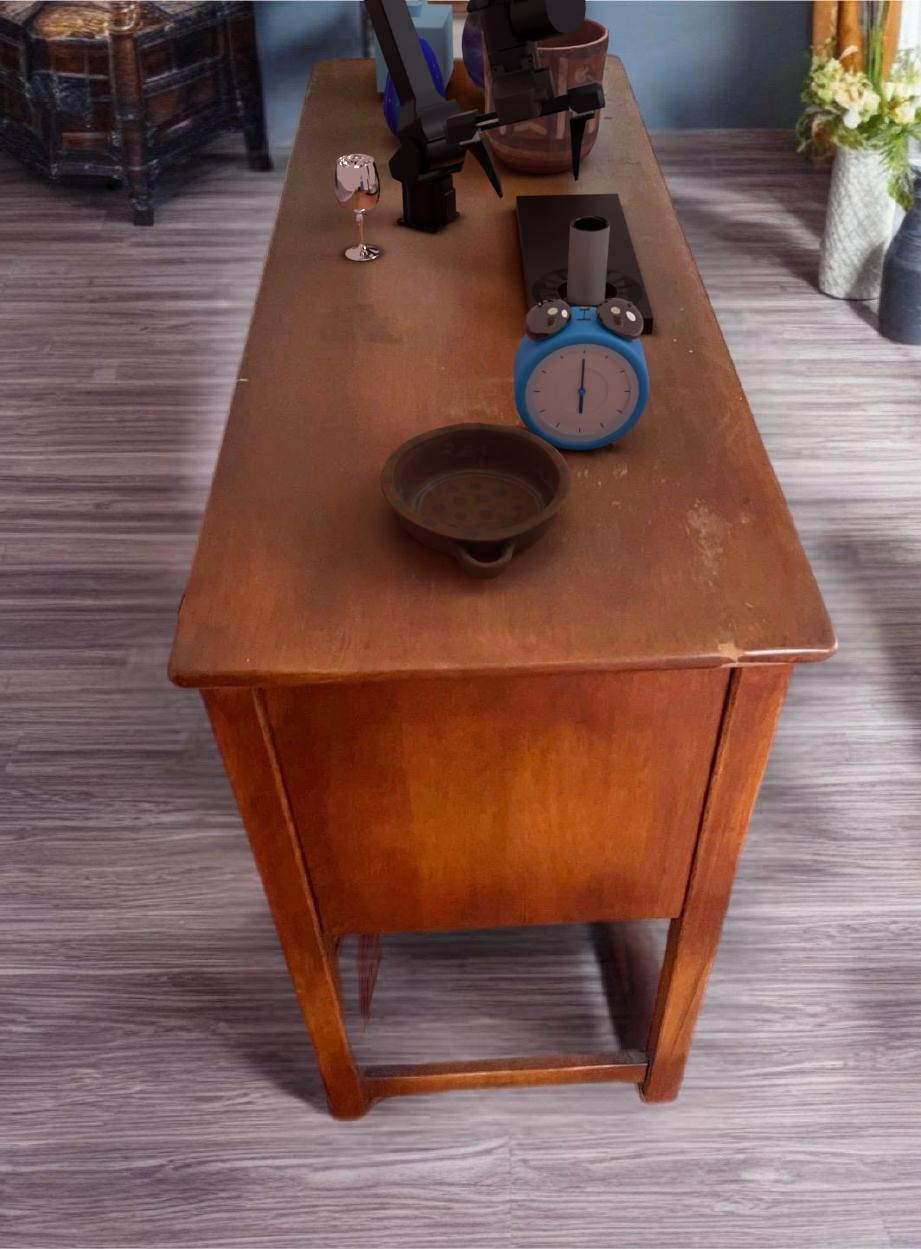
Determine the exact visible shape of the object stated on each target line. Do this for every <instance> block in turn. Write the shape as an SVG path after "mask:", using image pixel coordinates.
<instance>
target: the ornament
mask: <svg viewBox="0 0 921 1249" xmlns="http://www.w3.org/2000/svg"><path fill="white" fill-rule="evenodd" d="M418 38H419V41H420V44H421V47H422V50H423V52H424V55H425V58H426V61H427V64H428V67H429V70H430V73H431V76H432V79H433V82H434V84H435V87H436V90H437V92H438V93H439V94H440V95H441V96H442V97H443V98H444V99H446V100H447V96H446V89H445V86H444V81H443V77H442V73H441V70H440V67H439V64H438V61H437V59H436V56H435V54H434V52H433V50H432V48H431V47H430V45H429V44H428V42H427V41H426V40H425V39H423V38H422V37H420V36H418ZM382 110H383V116H384V119H385V122H386V125H387V127H388V129H389V131H390V132H391V134H392V135H393V136H394V137H395V138H397V139H399V137H398V133H397V130H398V123H399V117H400V110H401V106H400V102H399V99H398V96H397V93H396V91H395V88H394V85H393V82H392V79H391V76H390V74H389V71H388V73H387V79H386V86H385V89H384V92H383V102H382Z"/></svg>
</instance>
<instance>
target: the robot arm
mask: <svg viewBox="0 0 921 1249" xmlns="http://www.w3.org/2000/svg"><path fill="white" fill-rule="evenodd" d="M406 1H407V0H363V3H364V5H365V8H366V11H367V14H368V17H369V19H370V20H369V21H370V22H371V25H372V28H373V32H374V31H375V34H376V37H377V40H378V42H379V45H380V48H381V51H382V54H383V57H384V59H385V62H386V65H387V68H388V71H389V74H390V76H391V79H392V82H393V85H394V88H395V91H396V93H397V96H398V99H399V102H400V106H401V110H400V117H399V123H398V130H397V133H398V137H399V138H398V141H399V143H400V144H399V145H400V146H399V147H398V149H397V150H396V151H395V152H394V154H393V155H391V156H392V157H390V159H389V160H388V162H387V164H388V167H389V173H390V176H391V179H393V180H395V181H397V182H399V183H401V198H402V199H401V200H402V215H400V216H398V217H397V219H396V224H399V225H403V226H408V227H411V228H414V229H418V230H423V231H427V232H431V233H437V232H439V231H441V230H442V229H444V228H445V227H447V226H448V225H449V224H451V223H452V222H454V221H455V220H456V219H458V218H460V215H461V214H460V211H457V189H456V188H455V187H454V175H453V174H456V173H461V172H463V168H464V164H465V160H466V157H467V153H468V151H469V152H470V154H471V155H472V156H473V157H474V159H476V161H477V163H479V165H480V166H481V168H482V170H483V172H484V173H485V175H486V176H487V178H488V181H489V182H490V184H491V186H492V188H493V189H494V191H495V193H496V194H497V196H498V198H499V199H502V198H504V193H503V188H502V187H503V186H502V181H501V178H500V175H499V172H498V168H497V165H496V162H495V161H496V160H495V158H494V155H493V152H492V149H491V145H490V144H491V143H490V140H489V138H488V136H487V135H483V134H484V131H486V130H488V129H492V128H497V127H501V126H505V125H509V124H513V123H517V122H522V121H526V120H530V119H534V118H538V117H542V116H547V115H551V114H555V113H559V112H563V111H567V110H570V113H572V115H571V117H570V120H569V122H570V133H571V151H572V169H571V170H572V173H573V178H574V181H575V182H577V181H579V175H580V167H581V166H580V165H581V163H580V158H581V148H582V141H583V136H584V131H585V127H586V122H587V120H590V119H594V118H595V116H596V111H595V110H597V109H604V108H606V105H607V104H606V98H605V92H604V85H603V83H602V84H601V83H600V82H599V81H597V80H595V81H591V82H587V83H583V84H578V85H574V86H570V87H568V89H567V92H568V94H564V95H560V96H555V86H554V81H553V76H552V72H551V68H550V66H545V67H541V65H540V59H539V54H538V49H537V43H536V42H538V41H543V40H547V39H551V38H556V37H560V36H564V35H569V34H572V33H574V32H576V31H577V30H578V29H579V28H580V27H581V25H582V23H583V21H584V18H586V11H587V3H586V0H469V1H468V3H467V5H466V10H465V11H466V12H467V14H468V13H471V12H475V11H479V14H480V19H481V24H482V29H483V34H484V39H485V44H486V49H487V53H490V54H487V55H488V60H489V65H490V70H491V75H492V80H493V83H492V96H493V101H494V106H495V111H494V112H490V113H486V114H485V113H483V114H481V113H480V110H479V109H478V108H476V109H472V110H468V111H464V112H462V111H461V107H460V104H459V103H458V101H457V100H456V99H455V98H452V99H450V100H447V98H446V99H444V98H443V97H442V96H441V95H440V94H439V93H438V92H437V90H436V87H435V84H434V82H433V79H432V76H431V73H430V70H429V67H428V64H427V61H426V58H425V55H424V52H423V50H422V47H421V44H420V41H419V38H418V35H417V32H416V29H415V26H414V23H413V20H412V18H411V15H410V12H409V9H408V6H407V3H406ZM531 42H533V43H531ZM527 43H528V44H527ZM496 51H497V52H496ZM492 52H493V53H492ZM540 104H541V105H540ZM541 109H542V110H541Z"/></svg>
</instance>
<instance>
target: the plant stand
mask: <svg viewBox="0 0 921 1249" xmlns="http://www.w3.org/2000/svg"><path fill="white" fill-rule="evenodd" d="M623 210H624V209H623V207H622V204H621V199H620V196H619V193H583V194H582V193H581V194H577V193H576V194H537V195H536V194H535V195H534V194H533V195H515V213H516V221H517V222H516V223H517V229H518V238H519V246H520V253H521V262H522V270H523V271H522V272H523V278H524V279H523V280H524V285H525V286H524V287H525V294H526V302H527V311H529V310H530V309H531V308H532V307H533V306H534V305H535V304H537V303H538V302H540V301H542V300H545V299H550V298H556V299H560V300H563V301H565V302H566V303H567V304H568V305H569V306H570V308H571V307H595V308H597V307H598V306H599V304H598V305H579V304H573V303H570V302H567V300H566V299H564V298H567V280H568V259H569V237H570V222H571V221H572V220H573V219H574V218H576V217H580V216H586V215H592V216H599V217H602V218H605V219H606V220H608V221H609V223H610V229H609V244H608V258H607V272H606V287H605V298H607V299H609V298H621V299H624V300H627V301H629V302H630V301H631V302H632V304H633V305H634V306H635V307H636V308H637V309H638V310H639V312H640V313H641V315H642V318H643V331H642V333H641V334H653V327H654V315H653V311H652V308H651V304H650V300H649V297H648V294H647V291H646V287H645V283H644V279H643V277H642V273H641V269H640V266H639V263H638V262H639V261H638V259H637V256H636V252H635V249H634V246H633V242H632V238H631V235H630V231H629V228H628V225H627V221H626V217H625V214H624V211H623Z"/></svg>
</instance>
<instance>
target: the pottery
mask: <svg viewBox="0 0 921 1249" xmlns="http://www.w3.org/2000/svg"><path fill="white" fill-rule="evenodd" d="M609 41H610V30H609V29H608V28H607V27H606V26H605V25H604V24H602V23H600V22H598V21H595V20H593V19H591V18H588V17H584V21H583V23H582V25H581V27H580V28H579V29H578V30H577V31H576V32H574V33H572V34H569V35H564V36H560V37H556V38H551V39H547V40H543V41H538V42H536V43H537V49H538V54H539V59H540V65H541V67H545V66H550V68H551V72H552V76H553V81H554V86H555V96H560V95H564V94H568V92H567V89H568V87H570V86H574V85H578V84H583V83H587V82H591V81H595V80H597V81H599V82H600V83H601V84H602V85H603V82H604V72H605V66H606V61H607V60H606V59H607V56H608V49H609ZM531 43H533V42H531ZM527 44H528V43H527ZM482 50H483V60H484V74H485V97H484V114H486V113H490V112H494V111H495V106H494V101H493V96H492V83H493V80H492V75H491V70H490V65H489V60H488V55H487V54H490V53H487V49H486V44H485V39H484V34H483V30H482ZM496 52H497V51H496ZM492 53H493V52H492ZM540 105H541V104H540ZM601 109H602V108H601ZM601 109H597V110H595V111H596V116H595V118H594V119H590V120H587V122H586V127H585V131H584V136H583V141H582V148H581V158H580V164H581V163H582V162H583V161H584V160H585V159H586V158H587V157H588V156H589V155H590V153H591V151H592V149H593V148H594V146H595V144H596V141H597V138H598V134H599V129H600V122H601ZM541 110H542V109H541ZM571 115H572V113H570V110H567V111H563V112H559V113H555V114H551V115H547V116H542V117H538V118H534V119H530V120H526V121H522V122H517V123H513V124H509V125H505V126H501V127H497V128H492V129H488V130H485V133H486V136H487V138H488V141H489V143H490V144H491V146H492V149H493V150H494V152H495V154H496V156H498V158H499V159H501V161H502V162H503V163H504V164H505V165H507V166H508V167H510V168H511V169H513V170H516V171H520V172H523V173H529V174H540V175H541V174H543V175H548V174H560V173H564V172H568V171H569V170H573V169H572V151H571V133H570V122H569V120H570V117H571Z"/></svg>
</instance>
